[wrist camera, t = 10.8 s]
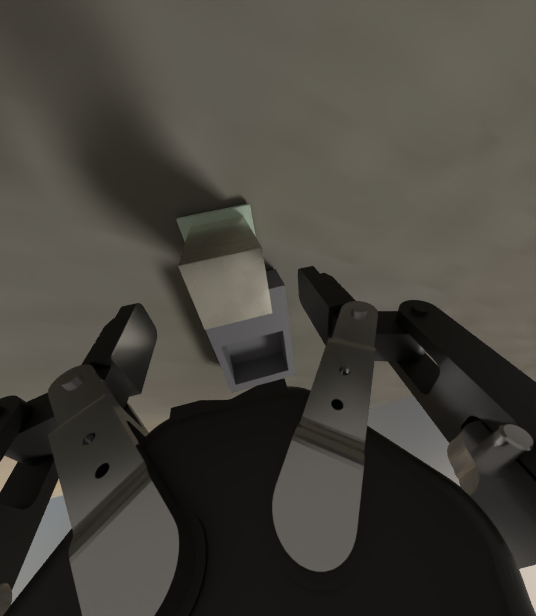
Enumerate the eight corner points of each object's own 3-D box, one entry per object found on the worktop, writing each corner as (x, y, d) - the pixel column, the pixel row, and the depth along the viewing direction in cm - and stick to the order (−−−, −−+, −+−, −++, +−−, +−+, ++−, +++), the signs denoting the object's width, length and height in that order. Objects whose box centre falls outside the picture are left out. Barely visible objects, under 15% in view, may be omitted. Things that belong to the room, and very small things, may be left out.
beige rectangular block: (189, 226, 18) (178, 266, 11) (243, 216, 18) (261, 247, 12) (206, 275, 20) (204, 329, 14) (253, 265, 21) (272, 313, 14)
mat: (177, 217, 18) (176, 219, 17) (248, 203, 18) (249, 204, 18) (200, 281, 21) (200, 284, 21) (260, 268, 22) (261, 270, 21)
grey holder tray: (197, 287, 22) (195, 306, 19) (275, 269, 22) (285, 285, 19) (229, 370, 29) (232, 392, 26) (287, 354, 30) (295, 374, 27)
